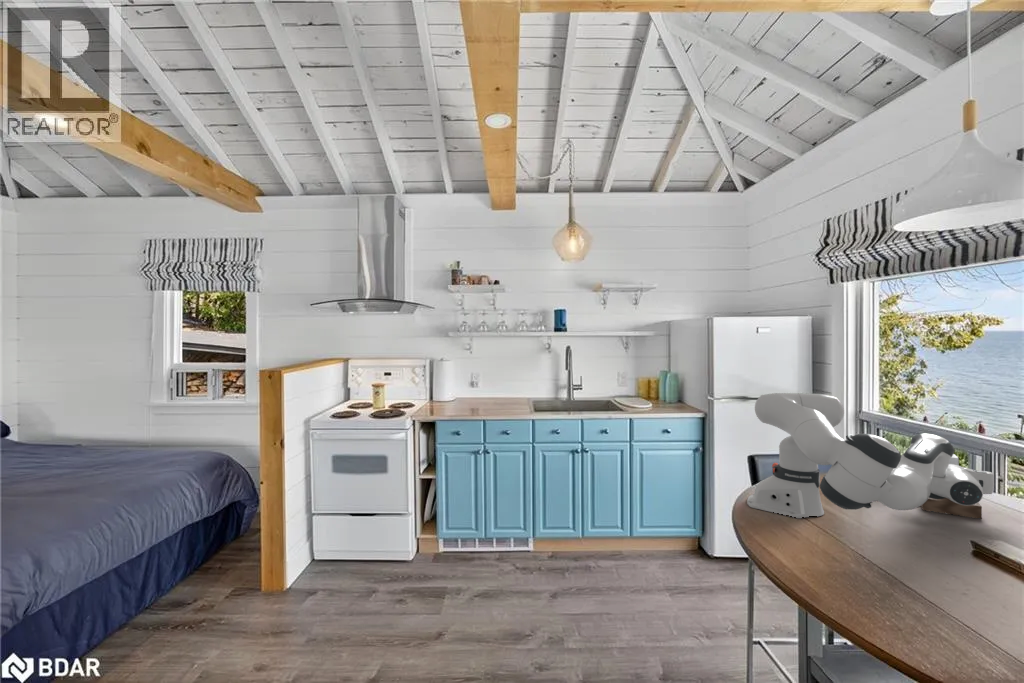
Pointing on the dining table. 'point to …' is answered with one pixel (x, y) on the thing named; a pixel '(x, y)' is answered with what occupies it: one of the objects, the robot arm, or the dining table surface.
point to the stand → (952, 508)
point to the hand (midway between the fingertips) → (945, 469)
